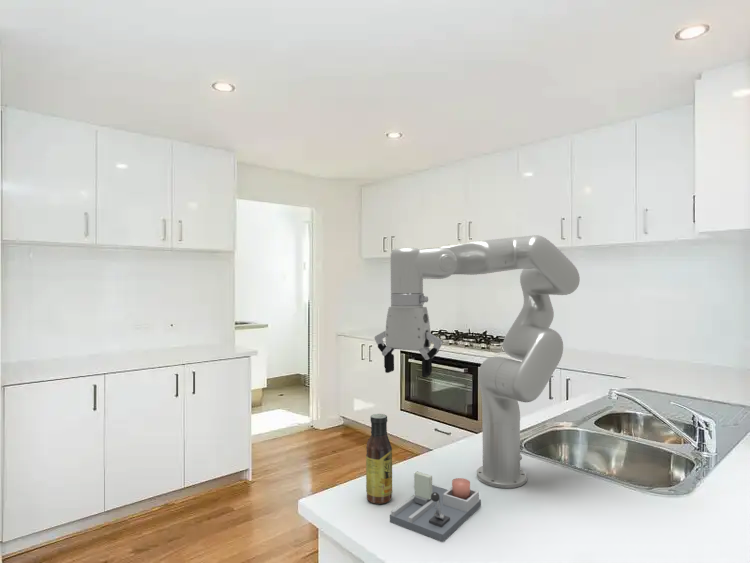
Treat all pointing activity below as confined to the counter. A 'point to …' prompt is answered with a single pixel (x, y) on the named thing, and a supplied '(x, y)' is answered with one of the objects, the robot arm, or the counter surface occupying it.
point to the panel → (423, 515)
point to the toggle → (437, 506)
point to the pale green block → (422, 488)
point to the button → (461, 488)
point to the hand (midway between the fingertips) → (407, 373)
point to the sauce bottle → (379, 462)
